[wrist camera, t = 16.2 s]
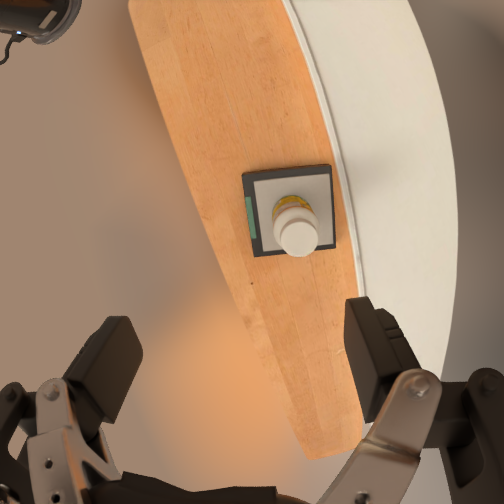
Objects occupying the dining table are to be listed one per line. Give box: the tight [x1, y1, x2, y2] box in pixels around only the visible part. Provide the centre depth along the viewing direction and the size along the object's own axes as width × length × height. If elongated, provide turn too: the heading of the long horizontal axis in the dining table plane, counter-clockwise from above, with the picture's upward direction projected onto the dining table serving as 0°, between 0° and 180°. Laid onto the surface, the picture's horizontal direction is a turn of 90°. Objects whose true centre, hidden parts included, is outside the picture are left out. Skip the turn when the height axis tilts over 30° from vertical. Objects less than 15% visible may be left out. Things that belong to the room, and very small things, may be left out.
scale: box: [242, 164, 336, 257], centre depth 40 cm, size 12×12×3 cm
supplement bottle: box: [272, 195, 320, 257], centre depth 34 cm, size 5×5×10 cm
